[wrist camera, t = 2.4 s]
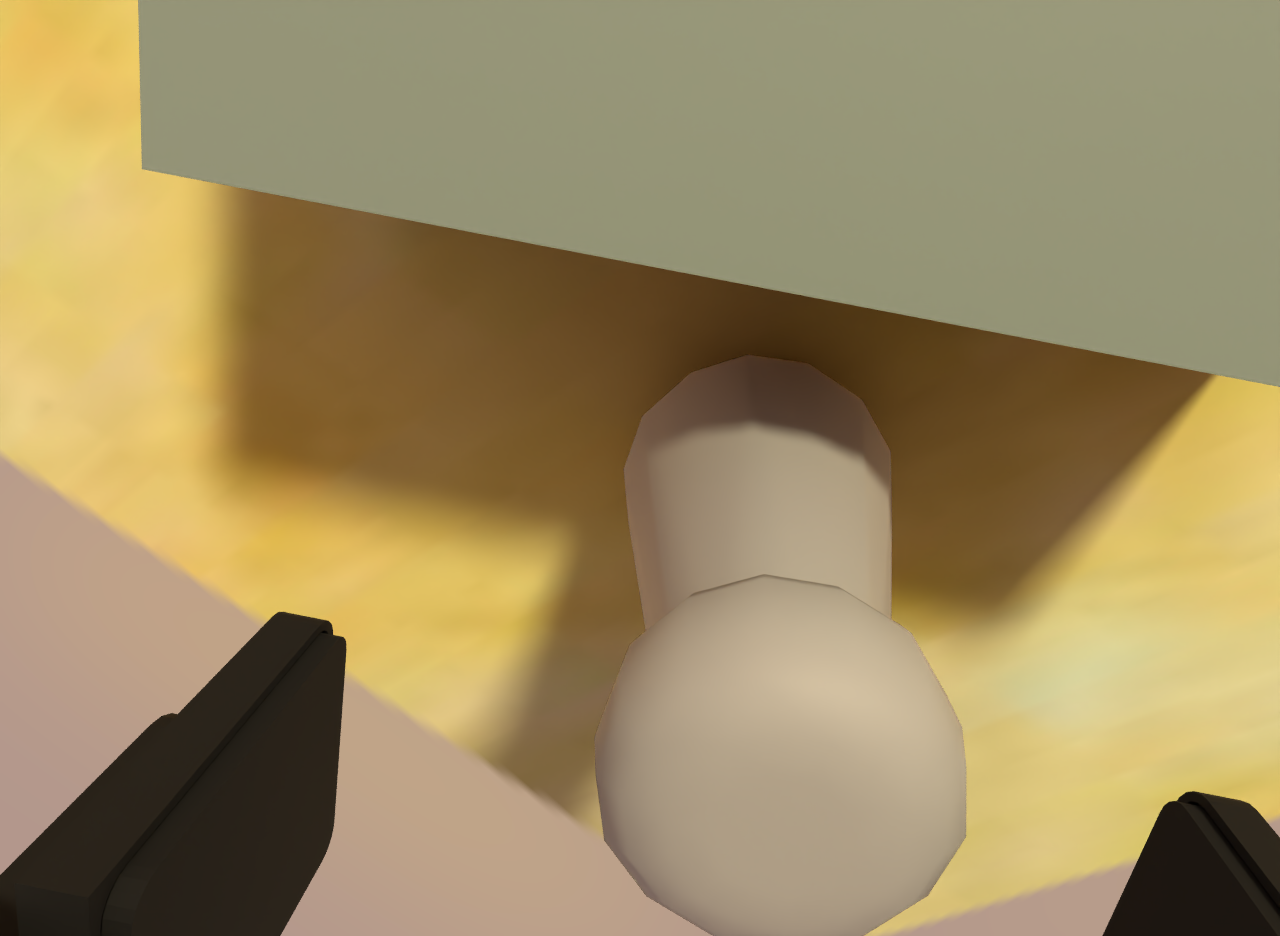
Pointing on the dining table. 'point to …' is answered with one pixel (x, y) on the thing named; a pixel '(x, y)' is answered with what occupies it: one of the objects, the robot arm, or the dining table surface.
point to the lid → (784, 146)
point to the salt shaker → (773, 669)
